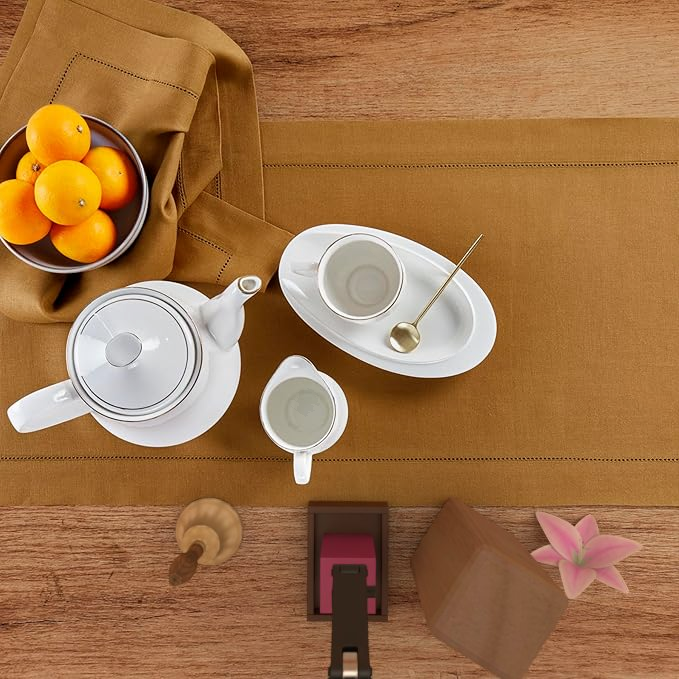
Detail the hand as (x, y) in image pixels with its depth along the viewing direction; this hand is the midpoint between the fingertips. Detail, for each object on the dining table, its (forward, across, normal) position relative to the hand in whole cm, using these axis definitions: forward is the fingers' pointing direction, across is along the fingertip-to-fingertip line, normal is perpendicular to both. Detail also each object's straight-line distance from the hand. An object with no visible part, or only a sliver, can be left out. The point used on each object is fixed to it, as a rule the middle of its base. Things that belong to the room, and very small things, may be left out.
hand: (348, 653), depth 56 cm
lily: (+24, -3, +27) cm, 36 cm away
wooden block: (+24, -2, +14) cm, 28 cm away
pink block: (+23, -1, 0) cm, 23 cm away
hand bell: (+24, -4, -17) cm, 30 cm away
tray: (+24, -1, 0) cm, 24 cm away
